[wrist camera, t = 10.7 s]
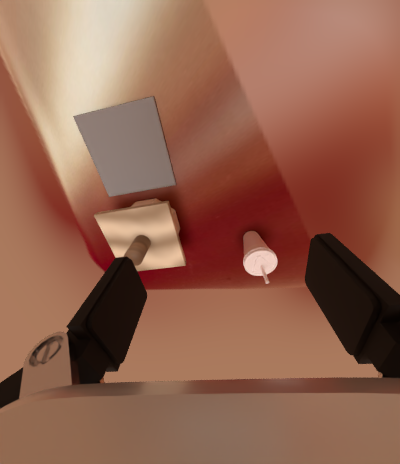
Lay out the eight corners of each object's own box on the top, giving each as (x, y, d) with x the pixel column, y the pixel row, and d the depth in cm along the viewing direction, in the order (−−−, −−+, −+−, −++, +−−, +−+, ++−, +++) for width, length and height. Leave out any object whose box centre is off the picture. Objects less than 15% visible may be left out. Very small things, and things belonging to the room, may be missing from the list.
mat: (75, 116, 33) (73, 116, 32) (154, 96, 31) (153, 96, 30) (110, 196, 40) (109, 196, 40) (176, 184, 38) (175, 184, 37)
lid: (97, 212, 34) (75, 229, 29) (168, 200, 32) (160, 215, 27) (125, 268, 41) (112, 291, 35) (186, 261, 39) (182, 284, 34)
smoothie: (241, 251, 46) (252, 296, 33) (234, 230, 43) (243, 271, 31) (267, 244, 44) (288, 288, 32) (261, 222, 41) (282, 261, 29)
